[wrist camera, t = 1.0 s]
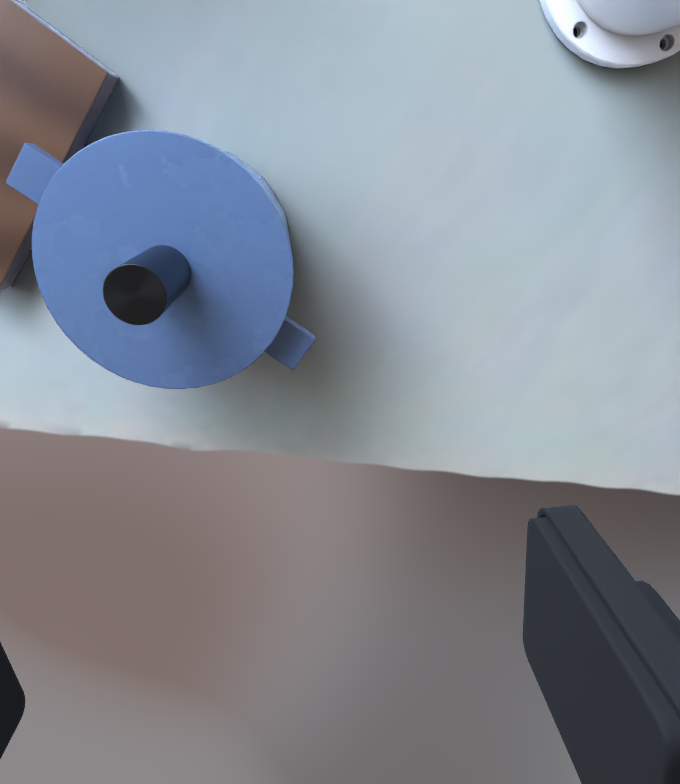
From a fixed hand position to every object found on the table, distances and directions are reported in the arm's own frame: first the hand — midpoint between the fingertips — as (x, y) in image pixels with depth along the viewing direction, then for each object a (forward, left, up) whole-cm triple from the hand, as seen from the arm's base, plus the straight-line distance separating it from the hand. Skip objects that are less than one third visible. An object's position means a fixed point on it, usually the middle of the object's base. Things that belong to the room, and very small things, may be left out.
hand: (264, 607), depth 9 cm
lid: (+3, -6, -24) cm, 25 cm away
